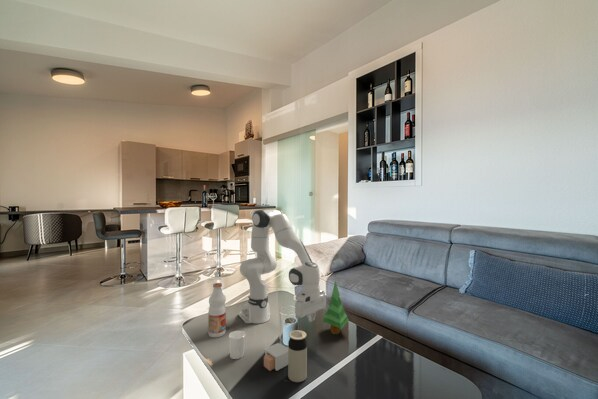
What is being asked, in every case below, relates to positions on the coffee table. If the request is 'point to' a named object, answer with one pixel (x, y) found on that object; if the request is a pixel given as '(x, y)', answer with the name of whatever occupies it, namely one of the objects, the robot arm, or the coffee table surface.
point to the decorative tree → (335, 312)
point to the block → (269, 362)
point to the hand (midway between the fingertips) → (311, 320)
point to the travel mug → (297, 356)
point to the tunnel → (278, 355)
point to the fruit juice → (217, 312)
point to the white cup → (237, 344)
